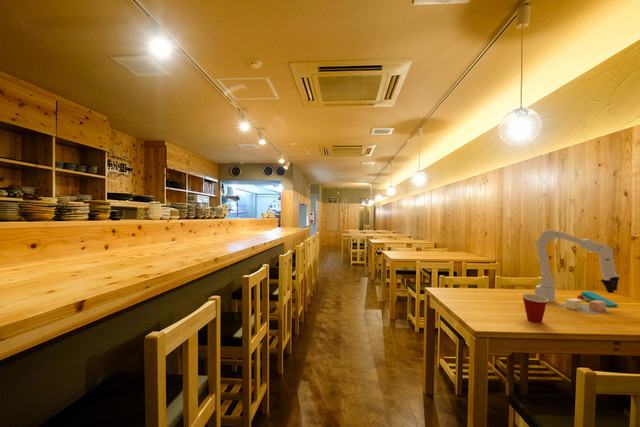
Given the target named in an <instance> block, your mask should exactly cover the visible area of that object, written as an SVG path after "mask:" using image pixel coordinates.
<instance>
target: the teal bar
mask: <svg viewBox="0 0 640 427" xmlns="http://www.w3.org/2000/svg"><path fill="white" fill-rule="evenodd" d="M576 297H577V298H576V299H579V300H589V301H594V300H599V301H604V302H606V308H612V307H613V308H614V307H618V306H619V304H617V303H616V302H614V301H611V300H609V299H608V298H606V297H603V296H601V295H599V294H597V293H595V292H593V291H591V290H590V291H582V292H581V294H578V295H577V296H576Z"/></svg>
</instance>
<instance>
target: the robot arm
mask: <svg viewBox="0 0 640 427" xmlns="http://www.w3.org/2000/svg"><path fill="white" fill-rule="evenodd" d="M556 239H557V240H562V239H563V240H566V241H569V242H572V243H576V244H578V245H579V246H580V247H581V248H582V249H584V250H586V251H587V250H588V251H590V252H593V253H597V254H598V255H599V258H598V260H599V264H600V270H601V277H603V278H602V279H600V281H601V283H602V284H603V285H604V287H605V290H606V292H607V293H609V294H614V292H615V291H617V290H618V282H619V280H620V274H617V270H616V265H615V259H614V255H613V254H614V250H613V248H612V247H611V246H609V245H607V244H604V242H597V241H595V240H593V239H592V238H584V239H582V238H579V237H576V236H574V235H571V234H569V233H566V232H564V231H560V230H554V229H552V228H547V229H545V231H543V232H542V233H541V234H540V236H539V238H538V239H537V241H536V250H537V256H538V262H539V266H540V272H541V273H540V274H541V277H540V284H537V285H536V286H535V288H534V295H539V296H542V297H545V298H547V299H548V300H549V301H548V302H551V303H554V302H556V286H555V285H554V284H555V279H554V277H553V276H552V274H551V268H550V264H549V256H548V253H547V252H548V251H547V248H546V246H547V245H548V244H549V243H550V242H552V241H554V240H556ZM548 302H547V303H548Z"/></svg>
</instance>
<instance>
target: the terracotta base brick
mask: <svg viewBox="0 0 640 427" xmlns="http://www.w3.org/2000/svg"><path fill="white" fill-rule="evenodd" d="M588 302H589V303H588V304H589V310H594V311H598V312H600V311H604V310H607V307H606V302H604V301H599V300H594V301H591V300H589V301H588Z"/></svg>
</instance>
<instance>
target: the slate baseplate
mask: <svg viewBox="0 0 640 427" xmlns="http://www.w3.org/2000/svg"><path fill="white" fill-rule="evenodd" d="M556 306H558V307H561V308H566V302H563V303H559V304H556ZM566 309H567V308H566ZM568 309H570V308H568ZM570 310H571V309H570ZM572 310H573V311H577V312H581V313H586V314H589V315H593V316H595V315H600V314H606V313H609V312H611V310H610V309H606V310H604V311H600V312H598V311H594V310H589V305H588V304H584V303H582V308H580V309H572Z"/></svg>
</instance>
